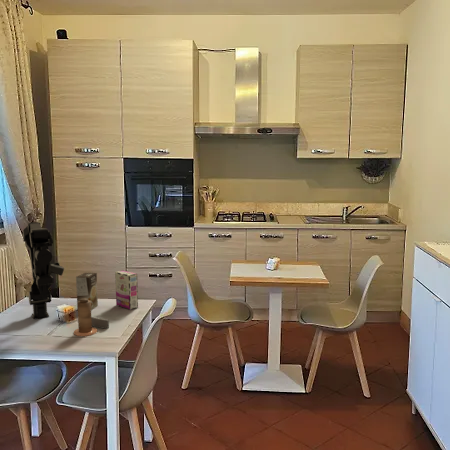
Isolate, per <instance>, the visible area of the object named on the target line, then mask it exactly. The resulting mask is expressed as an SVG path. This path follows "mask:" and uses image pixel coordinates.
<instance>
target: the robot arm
mask: <svg viewBox="0 0 450 450" xmlns="http://www.w3.org/2000/svg"><path fill="white" fill-rule="evenodd" d="M52 234H53V233H51V231H49V229H48V228H46V227H45V228H44V227H43V228H42V226H41V223H40V222H38V221H35V222H29V223H27V226H26V227H25V228H23V230H22V241H23V243H24V245H25V246H24V247H26V248H27V250H28V251H29V259H30V266H31V276H32V284H31V286H30V288H29V290H30V291H28V303H29V305H30V306H32V312H33V313H31V316H32V318H33V320H36V319H42V318H47V317H50V314H49V312H48V306H47V304H49V303H51V302H52V291H51V290H50V287H51V286H52V285H53V284H54V283H55V281H54V280H55V279H54V277H53V276H52V274H53V275H58V276H63V274H64V271H65V268H64V267H63V266H62V265H60V262H58V261H54V263H51V261H52V259H53V254H52V252H51V251H50V249H49V247H53V244H54V241H53V235H52Z"/></svg>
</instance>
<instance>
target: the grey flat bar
mask: <svg viewBox="0 0 450 450" xmlns="http://www.w3.org/2000/svg"><path fill="white" fill-rule="evenodd" d="M91 318H92V327H95V328H96V327H97V328H101V329H106V330H107V329H109V328H110V319H107V318H100V317H94V316H91Z"/></svg>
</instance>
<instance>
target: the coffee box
mask: <svg viewBox="0 0 450 450" xmlns="http://www.w3.org/2000/svg"><path fill="white" fill-rule="evenodd" d="M75 283H76V285H75V286H76V303H77V302H78V301H80V299H83V298H87V299H88V300H90V301H91V311H92V310H94V309H96V308H97V307H98V306H99V303H98V273H97V272H83V273H81V274H79V275H77V276H76V277H75ZM76 308H77V307H76ZM77 312H78V308H77Z"/></svg>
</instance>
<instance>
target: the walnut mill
mask: <svg viewBox="0 0 450 450" xmlns="http://www.w3.org/2000/svg"><path fill="white" fill-rule="evenodd" d="M76 305H77V307H76V308H78V311H77V322H78V323H77V324H78V328H79V332H80V333H88V332H91V331H92V327H93V326H92V318H91V317H92V310H91V301H90V300H88V299H87V298H83V299H80V301H78V302H77V301H76ZM78 328H77V329H78Z"/></svg>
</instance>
